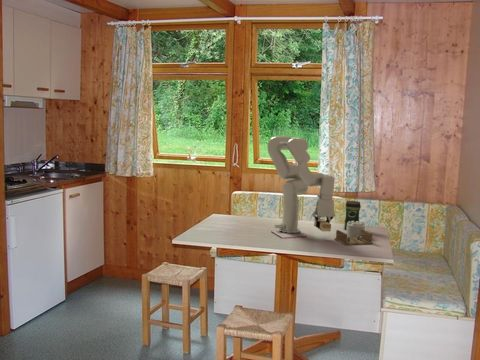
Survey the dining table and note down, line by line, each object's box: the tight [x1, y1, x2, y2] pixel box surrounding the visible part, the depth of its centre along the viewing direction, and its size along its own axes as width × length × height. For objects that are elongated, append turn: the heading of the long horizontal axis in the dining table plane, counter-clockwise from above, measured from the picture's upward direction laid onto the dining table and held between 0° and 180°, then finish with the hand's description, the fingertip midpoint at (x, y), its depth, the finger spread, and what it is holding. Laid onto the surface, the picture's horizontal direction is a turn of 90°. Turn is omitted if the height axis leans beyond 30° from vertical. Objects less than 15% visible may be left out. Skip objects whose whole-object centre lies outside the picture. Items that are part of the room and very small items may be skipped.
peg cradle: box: [334, 229, 374, 246], centre depth 285 cm, size 18×12×6 cm, turn 108°
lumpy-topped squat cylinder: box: [345, 220, 366, 238], centre depth 302 cm, size 10×13×9 cm
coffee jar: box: [343, 200, 361, 230], centre depth 318 cm, size 10×8×19 cm
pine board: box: [313, 218, 332, 232], centre depth 288 cm, size 12×5×4 cm, turn 15°
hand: (322, 227), depth 289 cm, fingers closed on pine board, 5 cm apart
